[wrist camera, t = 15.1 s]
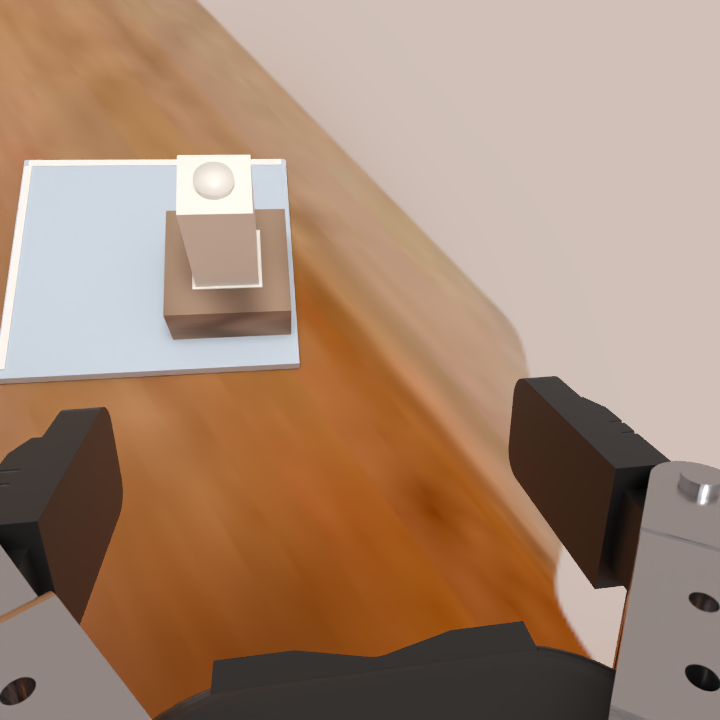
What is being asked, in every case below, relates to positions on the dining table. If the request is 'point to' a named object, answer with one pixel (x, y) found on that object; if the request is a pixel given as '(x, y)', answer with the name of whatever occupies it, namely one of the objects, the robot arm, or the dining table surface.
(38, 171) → the build board
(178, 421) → the dining table surface
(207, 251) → the block
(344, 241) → the dining table surface
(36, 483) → the robot arm
